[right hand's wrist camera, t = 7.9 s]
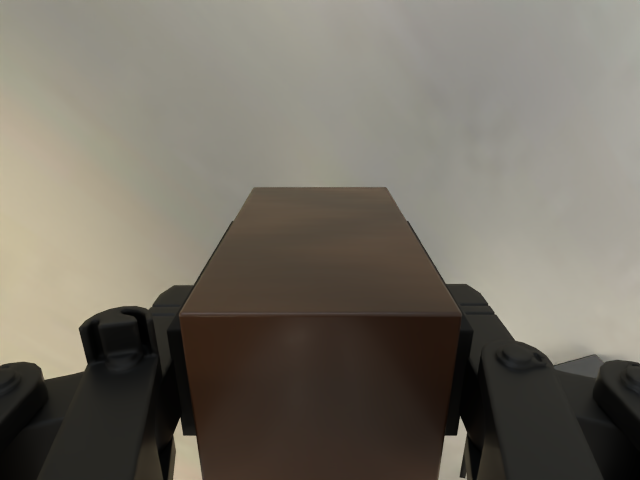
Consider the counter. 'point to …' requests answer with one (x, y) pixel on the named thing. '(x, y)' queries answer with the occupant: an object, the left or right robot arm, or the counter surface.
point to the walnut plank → (320, 342)
